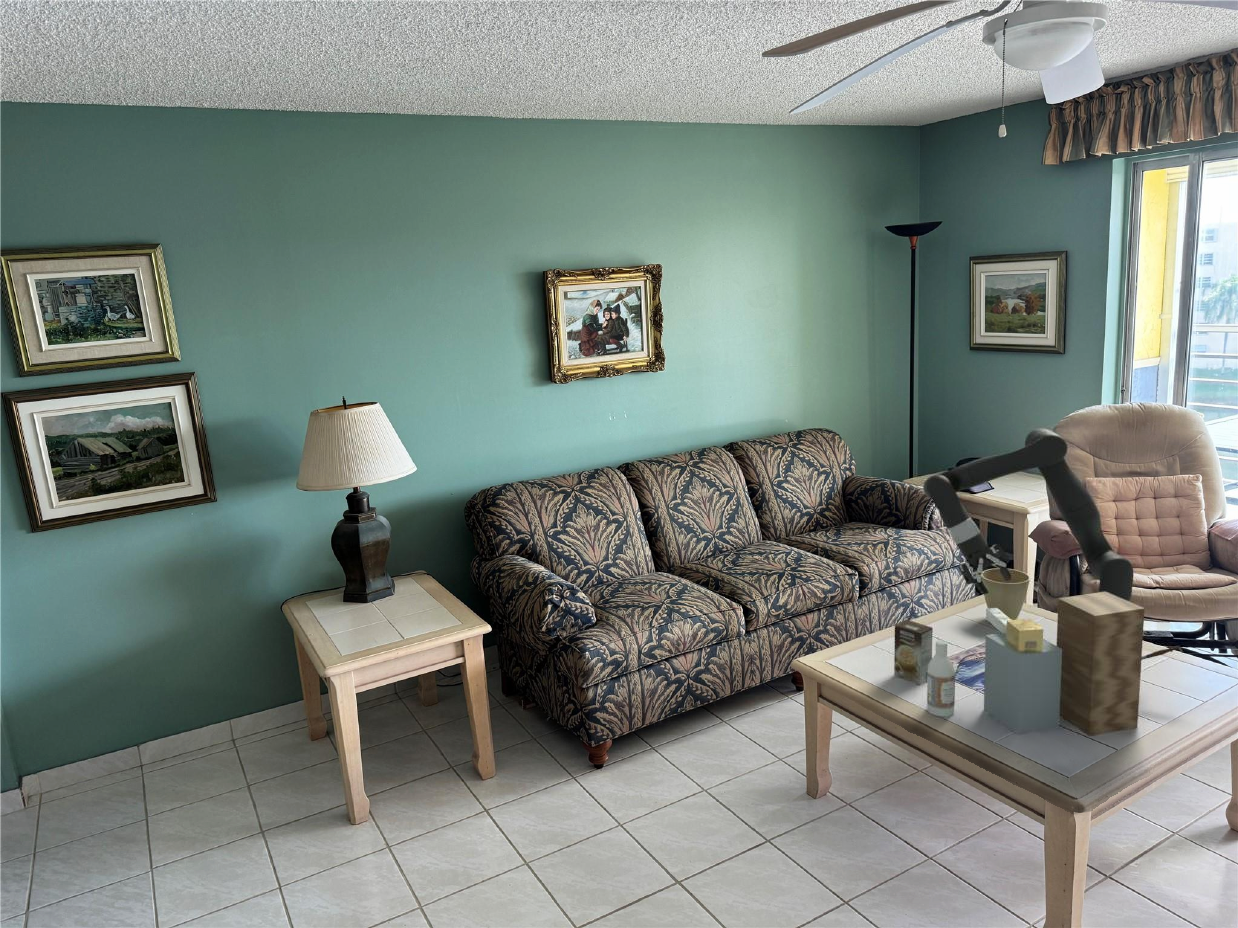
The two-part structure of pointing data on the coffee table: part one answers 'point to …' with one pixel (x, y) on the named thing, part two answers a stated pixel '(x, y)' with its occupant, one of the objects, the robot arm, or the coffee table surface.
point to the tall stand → (1100, 661)
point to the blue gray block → (1022, 685)
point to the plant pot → (1005, 591)
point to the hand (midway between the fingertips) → (997, 586)
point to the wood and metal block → (1017, 631)
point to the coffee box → (912, 651)
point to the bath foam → (941, 682)
